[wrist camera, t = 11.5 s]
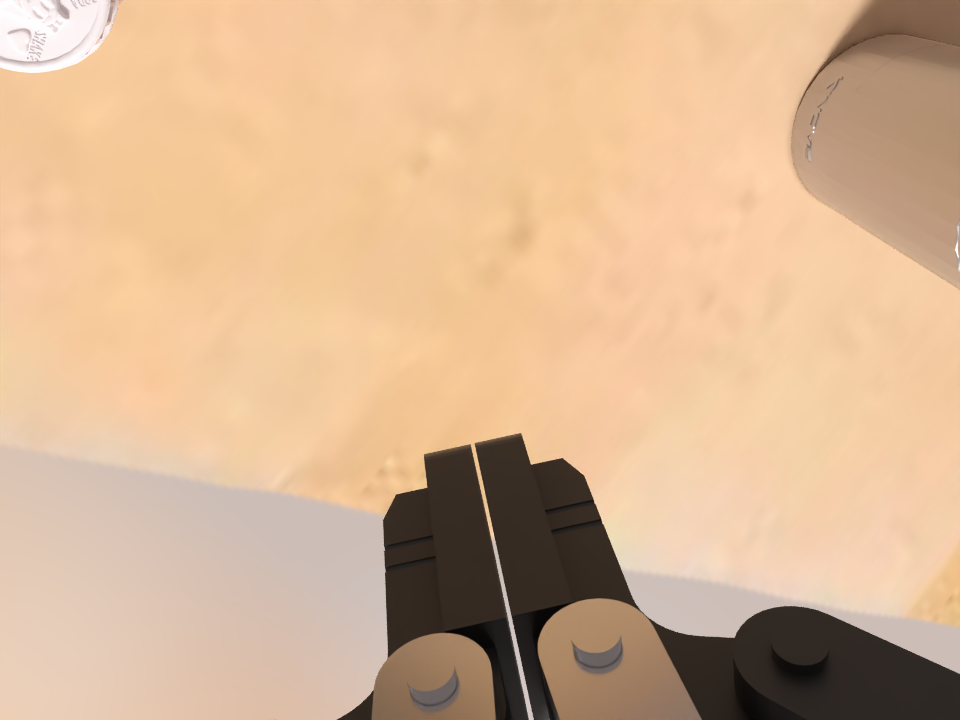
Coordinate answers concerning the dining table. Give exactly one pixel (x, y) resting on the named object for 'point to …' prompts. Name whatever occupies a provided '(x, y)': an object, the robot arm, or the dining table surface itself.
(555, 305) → the dining table surface
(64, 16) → the smoothie
